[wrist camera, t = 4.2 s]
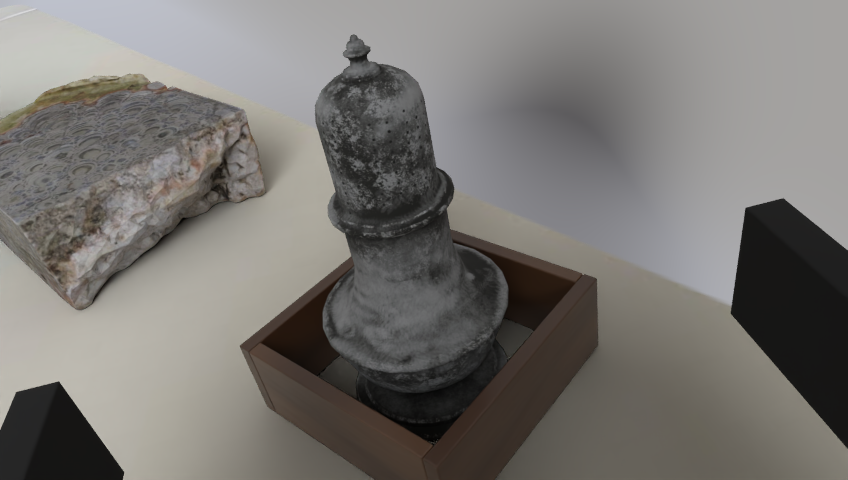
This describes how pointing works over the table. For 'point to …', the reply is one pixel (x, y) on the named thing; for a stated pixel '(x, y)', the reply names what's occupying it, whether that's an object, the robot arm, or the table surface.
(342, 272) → the shaker holder
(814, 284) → the robot arm
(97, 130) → the geological specimen
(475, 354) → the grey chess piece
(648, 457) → the table surface
